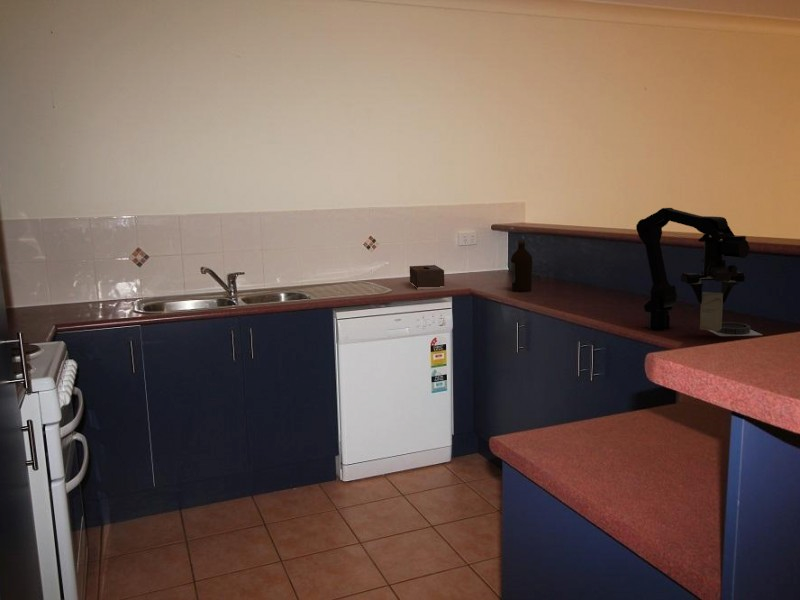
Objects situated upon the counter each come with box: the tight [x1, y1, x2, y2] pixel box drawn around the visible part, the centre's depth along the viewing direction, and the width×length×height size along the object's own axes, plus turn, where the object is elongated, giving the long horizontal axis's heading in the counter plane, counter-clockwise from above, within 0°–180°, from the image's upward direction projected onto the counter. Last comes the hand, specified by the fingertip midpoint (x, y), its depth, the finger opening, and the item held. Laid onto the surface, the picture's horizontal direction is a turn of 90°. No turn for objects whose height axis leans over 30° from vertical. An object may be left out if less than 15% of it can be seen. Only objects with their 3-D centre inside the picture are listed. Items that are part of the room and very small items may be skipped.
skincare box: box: [699, 291, 724, 331], centre depth 218 cm, size 6×4×12 cm
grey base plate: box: [707, 329, 763, 337], centre depth 226 cm, size 14×14×1 cm
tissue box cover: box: [409, 264, 445, 288], centre depth 359 cm, size 26×14×10 cm, turn 8°
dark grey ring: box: [716, 321, 751, 335], centre depth 226 cm, size 11×11×2 cm
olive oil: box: [510, 240, 534, 293], centre depth 330 cm, size 11×11×25 cm
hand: (711, 303), depth 218 cm, fingers closed on skincare box, 7 cm apart
